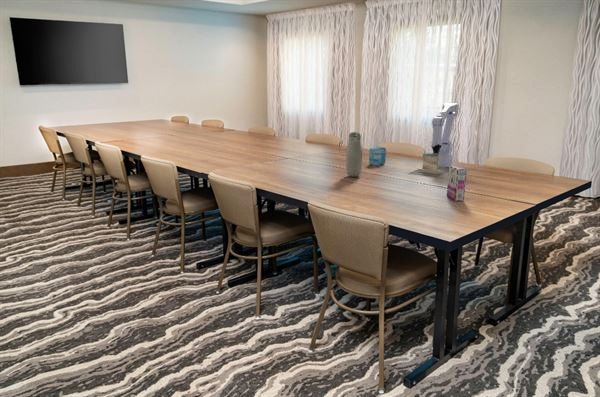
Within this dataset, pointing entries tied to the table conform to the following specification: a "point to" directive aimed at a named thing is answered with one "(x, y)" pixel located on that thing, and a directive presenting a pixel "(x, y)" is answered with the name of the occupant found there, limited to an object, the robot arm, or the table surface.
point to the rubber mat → (428, 172)
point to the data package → (377, 156)
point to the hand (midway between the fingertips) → (435, 156)
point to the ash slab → (430, 161)
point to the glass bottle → (354, 155)
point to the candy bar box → (456, 183)
